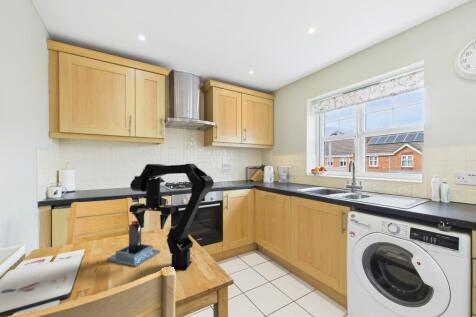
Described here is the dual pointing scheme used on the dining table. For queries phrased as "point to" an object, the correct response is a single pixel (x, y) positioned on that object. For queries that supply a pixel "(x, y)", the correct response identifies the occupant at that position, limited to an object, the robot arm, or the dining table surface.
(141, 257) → the flange socket
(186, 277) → the dining table surface
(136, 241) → the dark upright cylinder piece
